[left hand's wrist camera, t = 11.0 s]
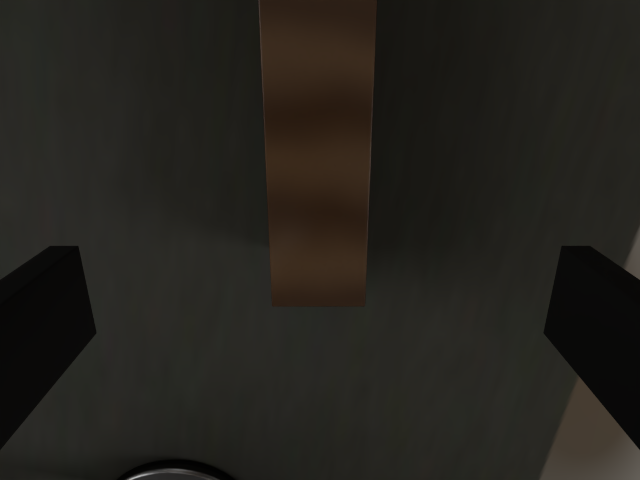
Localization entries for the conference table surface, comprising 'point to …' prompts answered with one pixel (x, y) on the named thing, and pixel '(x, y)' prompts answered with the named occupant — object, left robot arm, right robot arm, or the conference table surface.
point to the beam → (318, 146)
